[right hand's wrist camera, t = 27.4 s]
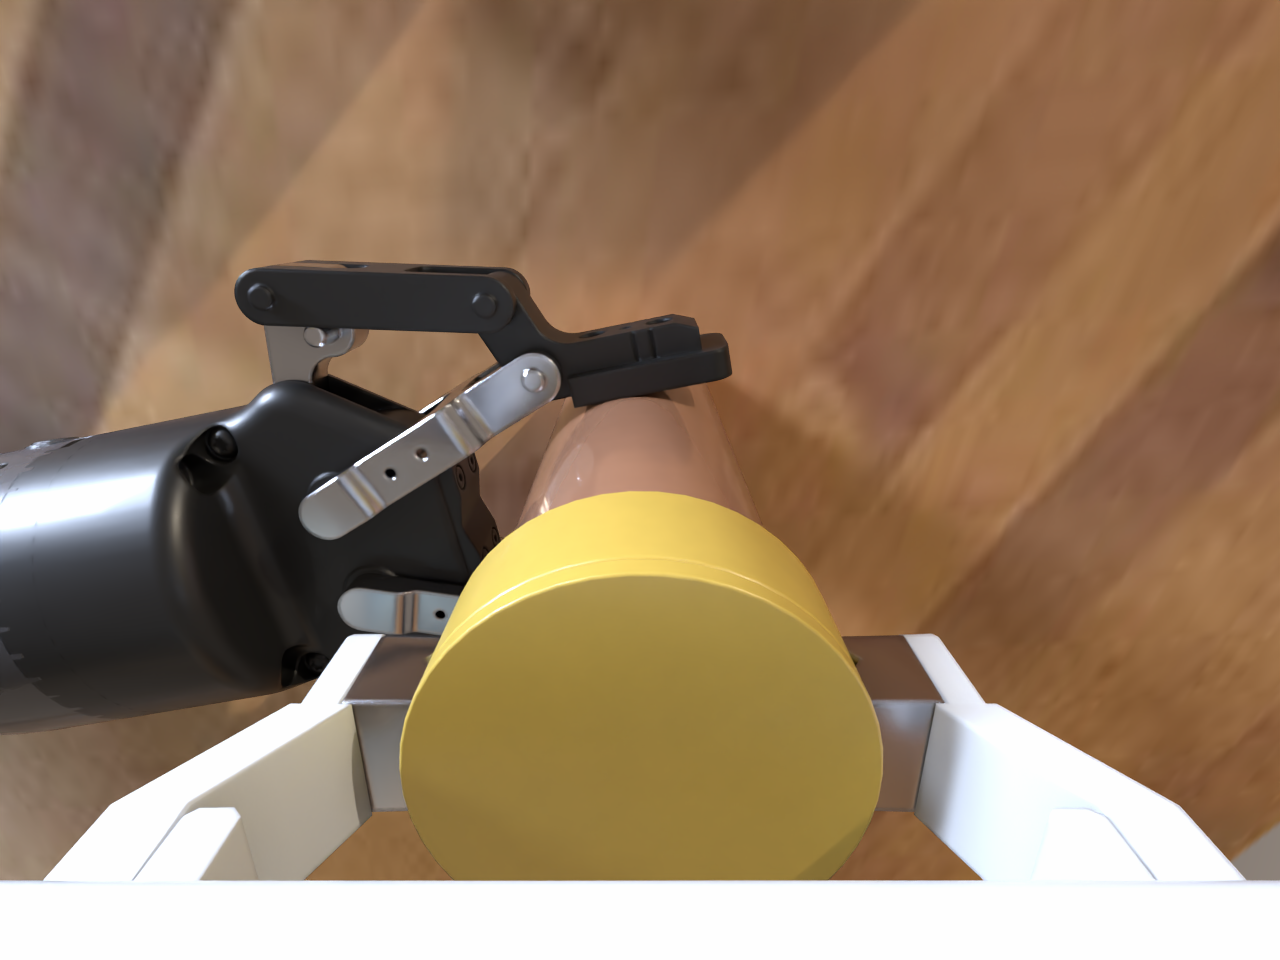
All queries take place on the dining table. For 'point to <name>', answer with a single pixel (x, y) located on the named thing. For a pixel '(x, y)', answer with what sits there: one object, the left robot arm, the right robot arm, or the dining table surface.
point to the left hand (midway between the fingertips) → (739, 461)
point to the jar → (640, 453)
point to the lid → (641, 706)
